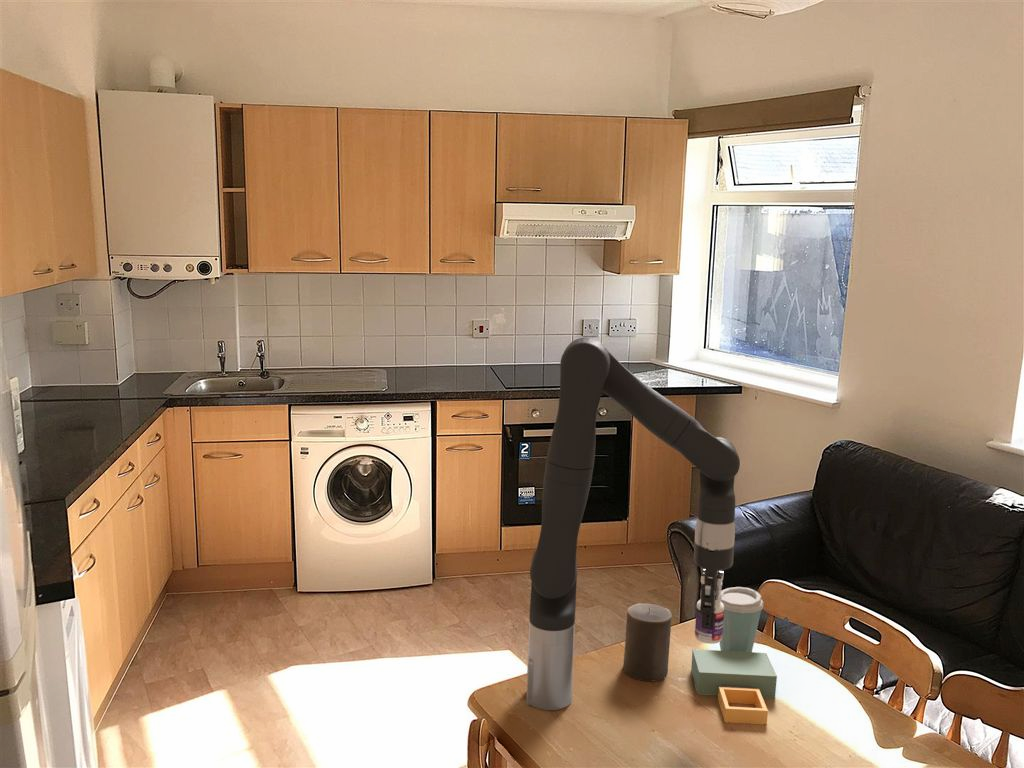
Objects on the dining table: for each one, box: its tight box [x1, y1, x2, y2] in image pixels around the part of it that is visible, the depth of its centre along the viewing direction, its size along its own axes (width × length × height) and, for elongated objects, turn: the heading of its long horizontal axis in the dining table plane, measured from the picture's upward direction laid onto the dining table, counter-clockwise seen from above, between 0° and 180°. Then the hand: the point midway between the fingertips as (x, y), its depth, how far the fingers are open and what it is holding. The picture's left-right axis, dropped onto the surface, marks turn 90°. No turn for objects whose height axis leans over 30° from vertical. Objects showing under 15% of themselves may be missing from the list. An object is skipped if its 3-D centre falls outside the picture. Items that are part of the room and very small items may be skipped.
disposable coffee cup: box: [719, 586, 764, 652], centre depth 201 cm, size 11×11×15 cm
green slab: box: [691, 648, 778, 726], centre depth 184 cm, size 16×20×5 cm
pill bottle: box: [694, 592, 724, 645], centre depth 175 cm, size 5×5×10 cm
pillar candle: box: [622, 603, 673, 682], centre depth 193 cm, size 10×10×15 cm
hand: (709, 621), depth 175 cm, fingers closed on pill bottle, 5 cm apart
